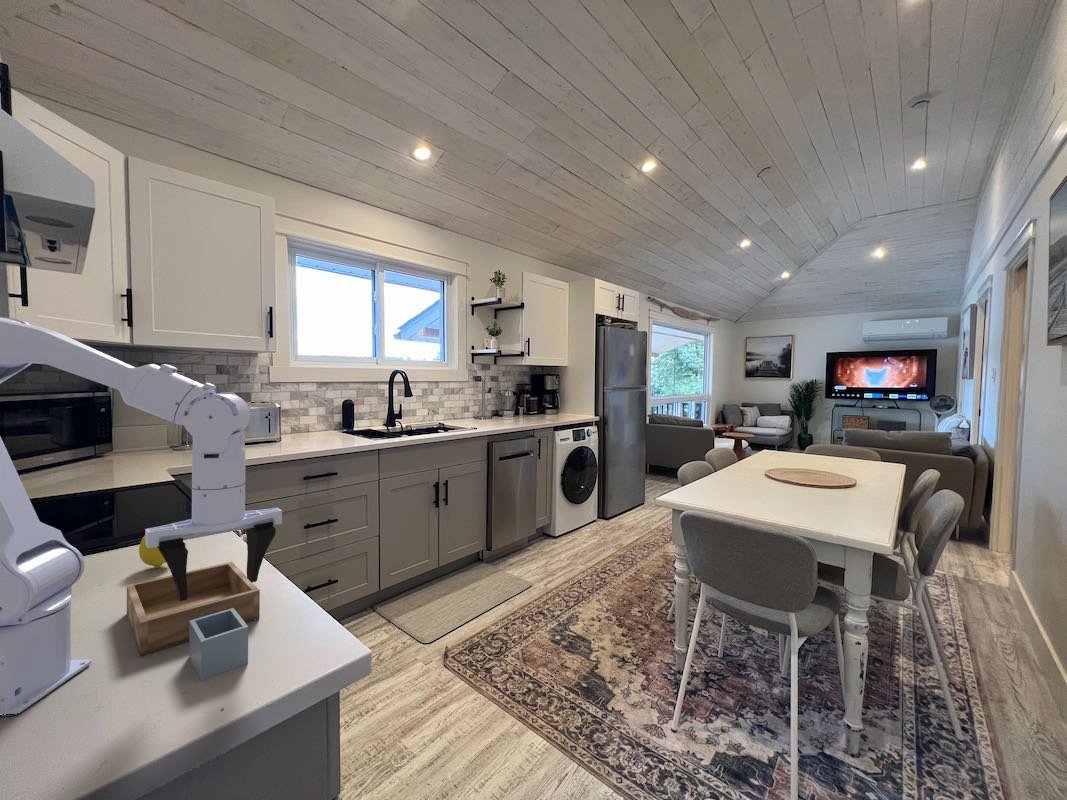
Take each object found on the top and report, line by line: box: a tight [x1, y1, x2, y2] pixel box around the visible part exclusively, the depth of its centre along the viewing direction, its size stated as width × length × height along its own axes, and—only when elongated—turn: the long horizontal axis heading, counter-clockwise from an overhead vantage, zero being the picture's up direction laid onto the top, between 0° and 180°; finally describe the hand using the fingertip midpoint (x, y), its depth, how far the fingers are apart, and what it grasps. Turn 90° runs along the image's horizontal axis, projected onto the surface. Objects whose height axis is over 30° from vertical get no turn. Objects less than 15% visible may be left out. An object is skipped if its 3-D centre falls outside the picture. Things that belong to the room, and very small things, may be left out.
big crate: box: [126, 561, 261, 657], centre depth 70 cm, size 16×14×4 cm
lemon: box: [138, 535, 167, 569], centre depth 88 cm, size 6×6×8 cm
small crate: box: [188, 608, 249, 682], centre depth 59 cm, size 7×5×5 cm
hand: (218, 588), depth 59 cm, fingers open, 7 cm apart
